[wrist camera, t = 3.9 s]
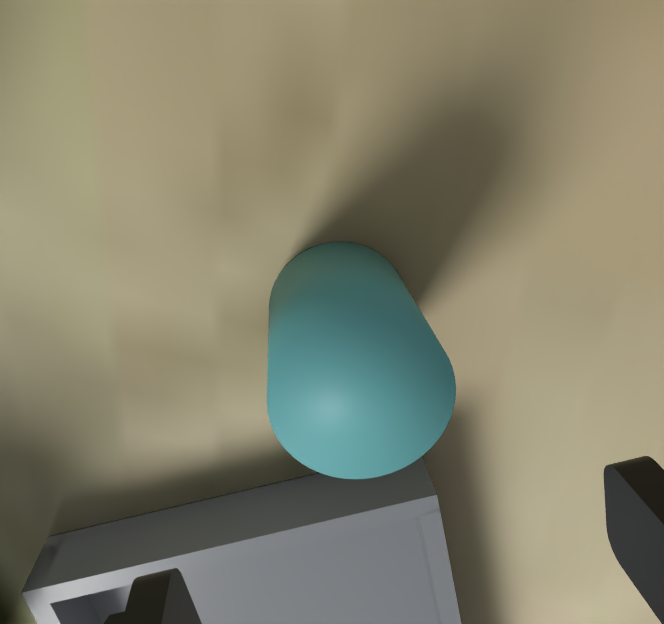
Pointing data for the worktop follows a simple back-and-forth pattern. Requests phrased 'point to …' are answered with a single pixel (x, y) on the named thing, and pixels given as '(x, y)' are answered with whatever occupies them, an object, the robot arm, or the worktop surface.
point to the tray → (267, 556)
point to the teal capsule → (353, 365)
